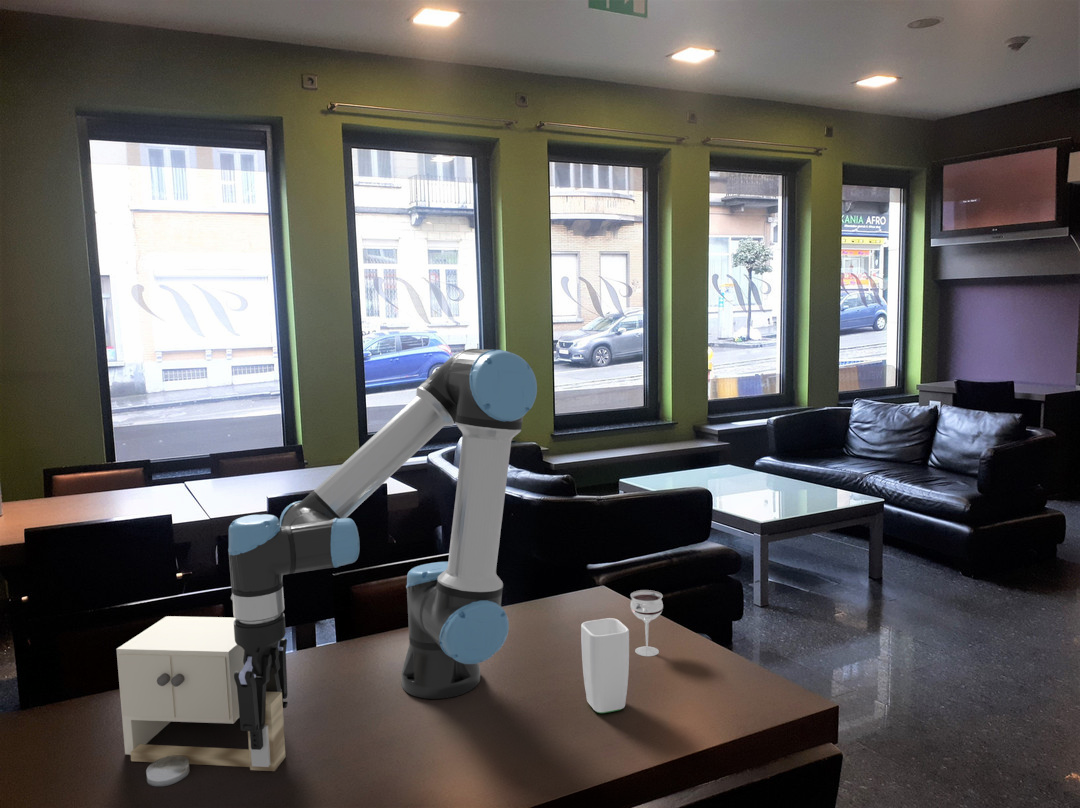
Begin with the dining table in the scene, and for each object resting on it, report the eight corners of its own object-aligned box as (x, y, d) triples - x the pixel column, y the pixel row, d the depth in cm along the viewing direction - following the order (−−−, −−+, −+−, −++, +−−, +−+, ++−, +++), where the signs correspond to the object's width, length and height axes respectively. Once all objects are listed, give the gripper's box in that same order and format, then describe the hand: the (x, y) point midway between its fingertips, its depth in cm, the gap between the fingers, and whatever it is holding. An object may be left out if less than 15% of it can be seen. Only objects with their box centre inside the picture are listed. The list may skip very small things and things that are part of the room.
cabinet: (273, 715, 140) (267, 618, 138) (231, 764, 125) (223, 655, 123) (173, 711, 142) (166, 616, 141) (119, 759, 127) (110, 652, 125)
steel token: (197, 767, 125) (196, 757, 125) (172, 790, 119) (171, 778, 119) (165, 763, 126) (164, 753, 126) (138, 785, 120) (137, 774, 120)
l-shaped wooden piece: (285, 756, 127) (281, 692, 126) (274, 771, 123) (270, 704, 122) (143, 750, 130) (138, 686, 128) (127, 763, 126) (122, 698, 124)
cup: (632, 712, 139) (632, 631, 137) (594, 719, 136) (593, 637, 135) (616, 694, 146) (615, 616, 144) (579, 700, 143) (578, 622, 142)
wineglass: (640, 641, 169) (639, 587, 167) (669, 649, 165) (668, 593, 163) (624, 653, 163) (624, 597, 162) (653, 660, 159) (653, 603, 158)
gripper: (261, 595, 131) (269, 728, 134) (207, 636, 114) (218, 787, 117) (304, 596, 130) (311, 729, 133) (256, 638, 114) (266, 790, 116)
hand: (268, 756), depth 125 cm, fingers closed on l-shaped wooden piece, 4 cm apart
